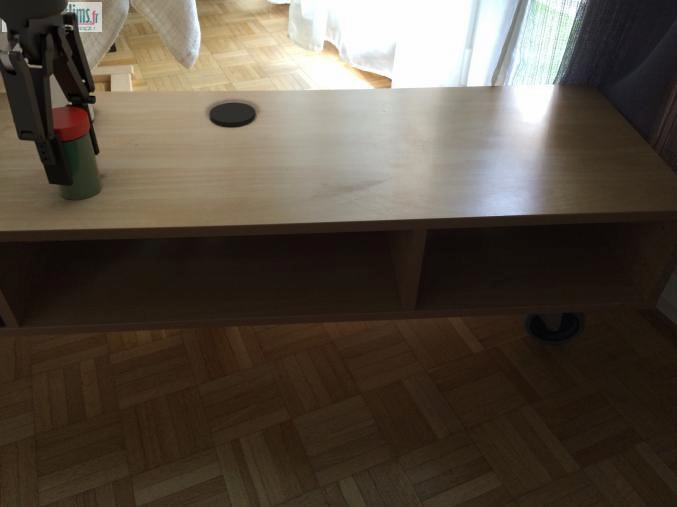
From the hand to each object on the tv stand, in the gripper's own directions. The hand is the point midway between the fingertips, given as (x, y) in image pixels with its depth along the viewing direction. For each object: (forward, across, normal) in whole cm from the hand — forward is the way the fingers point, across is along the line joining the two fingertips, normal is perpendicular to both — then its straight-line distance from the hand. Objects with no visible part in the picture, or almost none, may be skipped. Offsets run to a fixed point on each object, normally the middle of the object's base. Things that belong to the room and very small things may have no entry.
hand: (75, 167), depth 76 cm
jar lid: (-6, 0, 0) cm, 6 cm away
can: (+3, +17, +10) cm, 20 cm away
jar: (+3, 0, 0) cm, 3 cm away
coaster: (+3, +23, -14) cm, 27 cm away
